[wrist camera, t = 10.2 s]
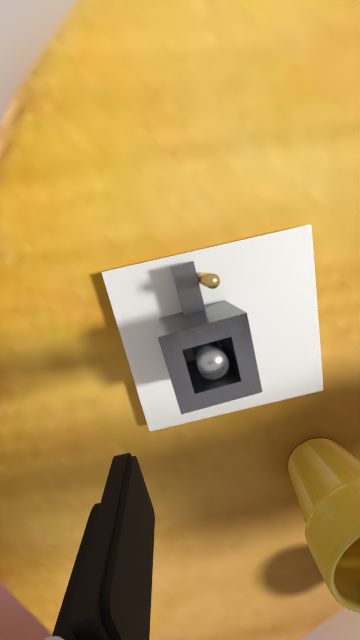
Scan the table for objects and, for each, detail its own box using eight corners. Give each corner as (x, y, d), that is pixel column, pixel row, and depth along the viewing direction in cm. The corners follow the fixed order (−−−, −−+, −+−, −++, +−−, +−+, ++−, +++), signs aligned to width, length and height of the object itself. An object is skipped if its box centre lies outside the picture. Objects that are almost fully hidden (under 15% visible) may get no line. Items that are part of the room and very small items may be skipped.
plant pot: (253, 457, 26) (305, 569, 16) (330, 405, 25) (433, 492, 15) (298, 509, 28) (366, 634, 19) (370, 464, 27) (481, 571, 18)
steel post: (211, 328, 20) (226, 347, 16) (215, 350, 21) (231, 375, 16) (188, 333, 20) (195, 354, 16) (192, 355, 21) (201, 382, 16)
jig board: (302, 226, 20) (311, 224, 19) (315, 384, 24) (323, 390, 23) (105, 271, 20) (101, 272, 19) (150, 423, 24) (149, 431, 23)
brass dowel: (206, 270, 19) (218, 272, 15) (208, 282, 20) (221, 287, 15) (195, 273, 19) (203, 275, 15) (197, 284, 20) (206, 290, 15)
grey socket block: (238, 360, 21) (262, 392, 16) (177, 377, 21) (181, 414, 16) (214, 254, 19) (234, 250, 14) (146, 273, 19) (138, 276, 14)
